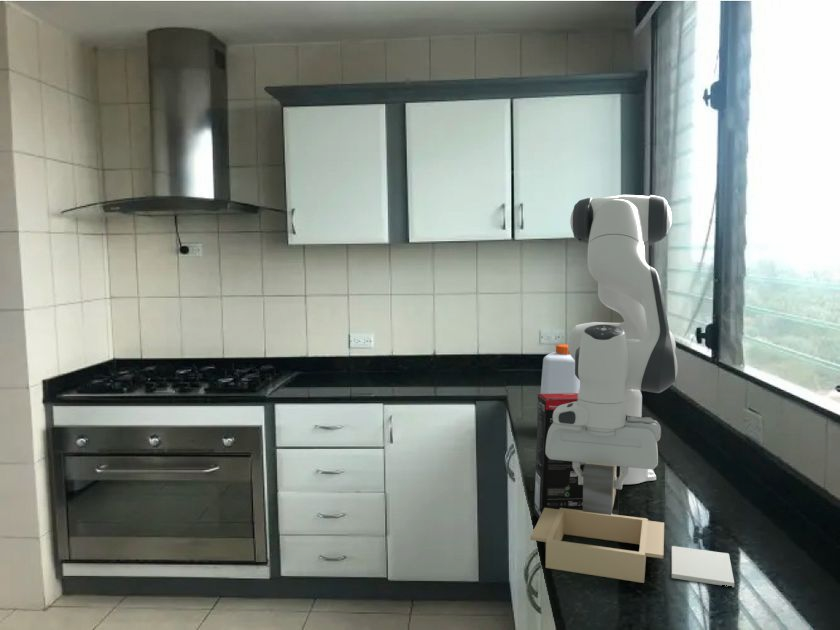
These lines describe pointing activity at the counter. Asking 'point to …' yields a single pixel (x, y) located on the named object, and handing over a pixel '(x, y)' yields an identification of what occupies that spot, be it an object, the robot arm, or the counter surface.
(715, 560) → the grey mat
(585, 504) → the block
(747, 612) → the counter surface
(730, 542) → the counter surface
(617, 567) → the carton
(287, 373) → the counter surface
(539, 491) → the graphics card box
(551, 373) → the plastic bottle
